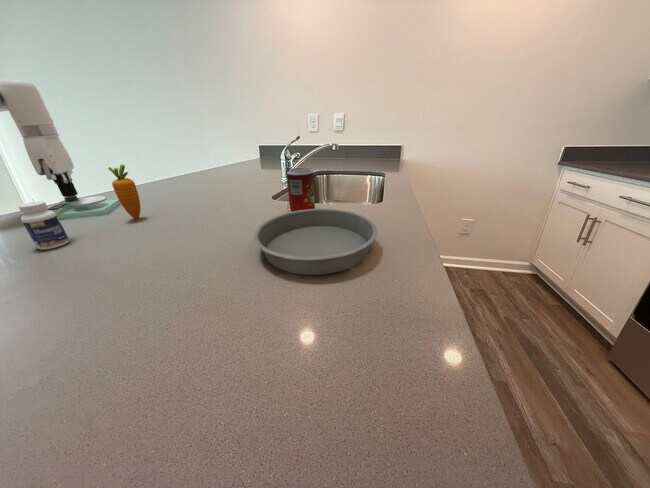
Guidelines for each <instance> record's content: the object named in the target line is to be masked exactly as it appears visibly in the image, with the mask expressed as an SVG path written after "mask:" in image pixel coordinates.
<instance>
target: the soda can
mask: <svg viewBox="0 0 650 488" xmlns="http://www.w3.org/2000/svg"><path fill="white" fill-rule="evenodd" d="M286 178H287V179H286V180H287V192H288V193H287V194H288V203H289V209H290V212H294V211H299V210H308V209H316V208H315V207H316V203H315V202H316V201H315V185H314V184H315V180H314V171H313V170H312V169H311V168H309V167H294V168H293V167H292V168H290V169H289V170H288V171H287V172H286Z"/></svg>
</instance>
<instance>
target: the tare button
mask: <svg viewBox="0 0 650 488" xmlns="http://www.w3.org/2000/svg"><path fill="white" fill-rule="evenodd" d="M78 198H79V197H78V196H77V195H75V196H68V197H63V199H64V200H65V201H66V202H73V201H75V200H78Z"/></svg>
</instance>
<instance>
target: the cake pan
mask: <svg viewBox="0 0 650 488" xmlns="http://www.w3.org/2000/svg"><path fill="white" fill-rule="evenodd" d="M378 234H379V233H378V228H377V225H376V224H375V223H374V222H373V221H372V220H371V219H370V218H368V217H365V216H364V215H361V214H359V213H356V212H352V211H347V210H343V209H335V208H314V209H308V210H299V211H294V212H292V211H289V212H286V213H282V214H279V215H276V216H274V217H271V218H269V219H267V220H266V221H264V222H262V223H261V224H260V225H259V226H258V227H257V228H256V229H255V230H254V233H253V238H252V239H253V242H254V244H255V245H256V247H257V248H258V249H260V250H261V251H263V253H264V256H265V257H266V260H267V261H268V262H269V263H270V264H271V265H272V266H273V267H275V268H277V269H279V270H281V271H284V272H287V273H290V274H297V275H305V276H321V275H330V274H334V273H339V272H342V271H346V270H348V269H351V268H353V267H355V266H357V265H358V264H359V263H361V262H362V261H363V260H364V259H365V258H366V257H367V255H368V252H369V250H370V246H371V245H372V244H373V243H374V242H375V240H376V239H377V237H378Z"/></svg>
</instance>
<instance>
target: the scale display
mask: <svg viewBox="0 0 650 488" xmlns="http://www.w3.org/2000/svg"><path fill="white" fill-rule="evenodd" d="M66 205H67V203H64V204H60V203H57V204H54V205H53V206H51V207H48V208H47V210H51V211H57V210H59V209H61V208H62V207H64V206H66Z"/></svg>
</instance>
